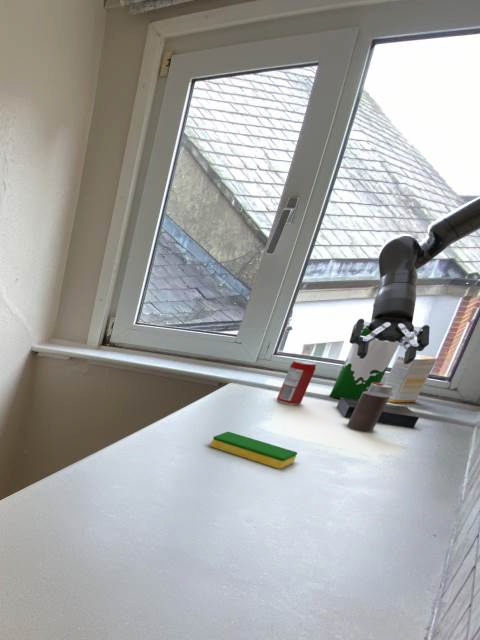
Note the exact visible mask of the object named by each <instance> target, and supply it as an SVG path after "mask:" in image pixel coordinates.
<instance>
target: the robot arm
mask: <svg viewBox="0 0 480 640" xmlns="http://www.w3.org/2000/svg"><path fill="white" fill-rule="evenodd" d="M478 230H480V196H479V197H476V198H475V199H473V200H470V201H468V202H467V203H464V204H463V205H461V206H459V207H458V208H455V209H454V210H452V211H450V212H449V213H447V214H445V215H443V216H442V217H440V218H438V219H436V220H435V221H433V222H432V223H430V224H429V225H428V227H427V236H426V237H425V238H424V239H423V240H422V241H421V242H419V241H418V239H417V238H416V237H415V236H413V235H411V234H398V235H395V236H393V237H391V238H390V239H388V240H387V241H385V243H384V244H383V245H382V246H381V248H380V250H379V253H378V270H379V283H378V287H377V292H376V295H375V298H374V302H373V304H372V314H371V318H370V319H371V320H370V321H365V319H363V318H359V319H358V320H357V321H356V322H355V323H354V325H353V327H352V331H351V335H350V338H349V341H348V342H349V344H351V345H352V344H354V343H356V344H358V352H357V355H358V356H360V357H359V358H361V359H363V358H364V357H365V356H366V355H367V352H368V346H369V343H370V342H371V341H373V340H374V339H378V341H389V342H395V341H396V342H397V343H398V344H399V347H402V348H403V349H405V352H404V355H405V357H404V364H408V363H410V362H412V361H413V360H414V359H415V358H416V355H417V352H422V351H424V349H425V348H426V347H428V346H429V345H430V328H431V327H430V326H429V325H428V324H424V325H423V326H414V324H413V321H414V314H415V309H416V301H417V284H418V272H417V270H419V269H420V268H422V267H423V266H425V265H426V264H428V263H429V262H430V261H432V260H433V259H434V258H435V257H437V256H438V255H439V254H441V253H442V252H443V251H445V250H446V249H447V248H449V247H450V246H451V245H452V244H454V243H456V242H458V241H459V240H460V241H461V240H462V239H464V238H465V237H467V236H470V235H471V234H473V233H475V232H478ZM365 328H368V330H369V331H370V332H371V333H370V334H369V335H367V336H365V337H364V338H363V337H360V335H361V332H362V330H364V329H365ZM413 334H414V335H413ZM415 337H416V339H415Z"/></svg>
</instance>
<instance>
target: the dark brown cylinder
mask: <svg viewBox="0 0 480 640" xmlns="http://www.w3.org/2000/svg"><path fill="white" fill-rule="evenodd" d="M389 397H390V396H389V395H386V394H383V393H378V392H372V391H364V392H363V393H362V395H361V397H360V399H359V401H358V403H357V405H356V408H355V410H354V412H353V414H352V416H351V418H349V421H347V424H346V428H349V429H350V430H351V429H352V430H354V431H358V432H365V433H372V432H373V431H374V430H375V427H376V425H377V421H378V419H379V417H380V415H381V413H382V411H383V409H384V407H385V405H386V404H388V402H389V401H388V399H389Z"/></svg>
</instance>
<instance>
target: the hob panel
mask: <svg viewBox="0 0 480 640" xmlns="http://www.w3.org/2000/svg"><path fill="white" fill-rule="evenodd" d="M358 401H359V400H356V399H350V398H343V397H341V399H340V398H339V401H338V402H337V405H336V409H337V410H338V411H339V413H340V414H341V415H342V417H343V418H345V419H346V418H347V419H350V418H351V416H352V414H353V412H354V410H355V408H356V405H357V403H358ZM419 418H420V416H418V415H417V414H416V413H415V412H413V411H412V410H411V409H410V408H409V407H408V406H403V405H397V404H390V403H386V405H385V407H384V409H383V411H382V413H381V415H380V417H379V419H378V421H377V423H378V424H384V425H389V426H390V425H391V426H396V427H402V428H409V429H415V426H416V424H417V422H418V421H419ZM377 423H376V424H377Z"/></svg>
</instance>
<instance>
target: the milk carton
mask: <svg viewBox="0 0 480 640" xmlns="http://www.w3.org/2000/svg"><path fill="white" fill-rule="evenodd" d="M370 333H371V332H370V331H369V330H368V328H365V329H364V330H362V331H361V335H360V337H363V338H364V337H365V336H367V335H369V334H370ZM398 347H400V345H399V344H398V343H397V342H396V341H395V342H389V341H378V339H374V340H373V341H371V342H370V343H369V346H368V352H367V355H366V356H365V357H364V358H363V359H361V358H359V357H360V356H358V355H357V352H358V344H356V343H354V344H351V347H350V349H349V352H348V354H347V356H346V358H345V360H344V363H343V365H342V366H341V369H340V371H339V374H338V375H337V378H336V381H335V383H334V385H333V387H332V389H331V392H330V394H329V397H332V398H337V399H339V400H340V399H341V397H343V398H350V399H356V400H359V399H360V397H361V395H362V393H363V392H364V391H368V389H369V387H370V385H371V383H372V382H374V383H382V380H383V378H384V376H385V374H386V371H387V369H388V367H389V366H390V363H391V361H392V359H393V357H394V355H395V353H396V351H397V349H398Z"/></svg>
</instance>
